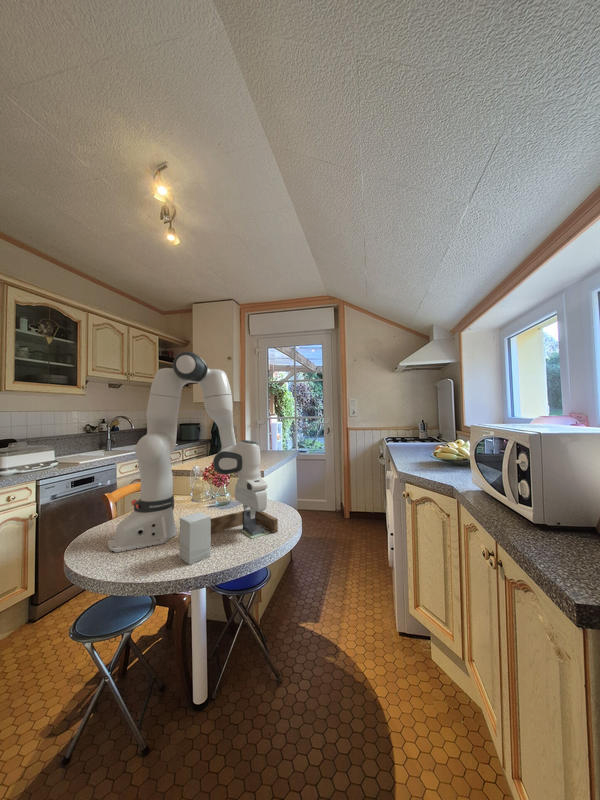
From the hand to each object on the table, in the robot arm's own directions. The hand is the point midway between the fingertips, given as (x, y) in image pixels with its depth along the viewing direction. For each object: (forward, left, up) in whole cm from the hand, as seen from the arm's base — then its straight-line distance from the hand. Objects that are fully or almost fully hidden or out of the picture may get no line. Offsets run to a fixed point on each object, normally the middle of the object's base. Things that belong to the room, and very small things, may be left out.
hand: (249, 516), depth 114 cm
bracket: (0, -3, -5) cm, 5 cm away
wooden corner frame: (-4, -1, -5) cm, 6 cm away
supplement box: (-24, -8, -5) cm, 26 cm away
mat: (0, -3, -5) cm, 6 cm away
